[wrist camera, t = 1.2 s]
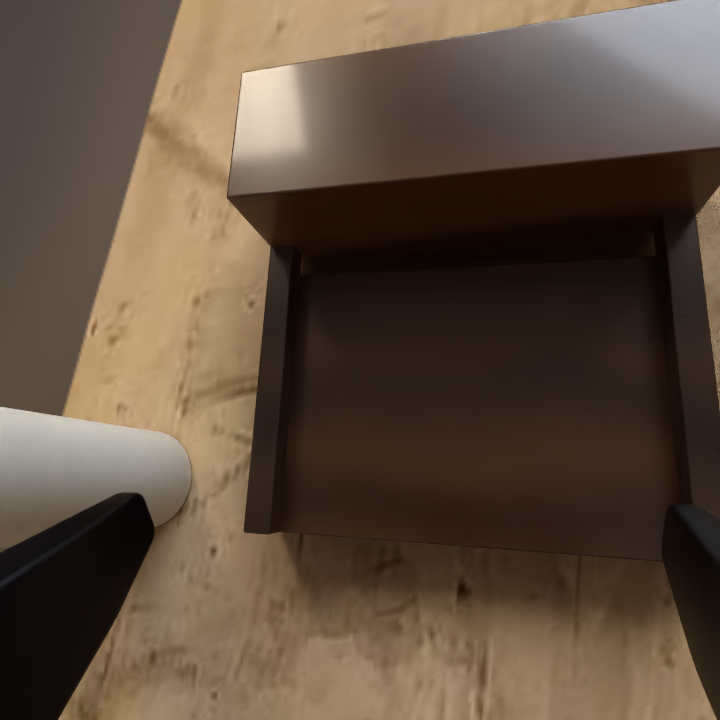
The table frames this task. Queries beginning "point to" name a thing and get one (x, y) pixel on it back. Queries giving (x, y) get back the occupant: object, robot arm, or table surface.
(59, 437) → the glue bottle
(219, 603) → the table surface
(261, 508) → the step shelf
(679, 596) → the robot arm
